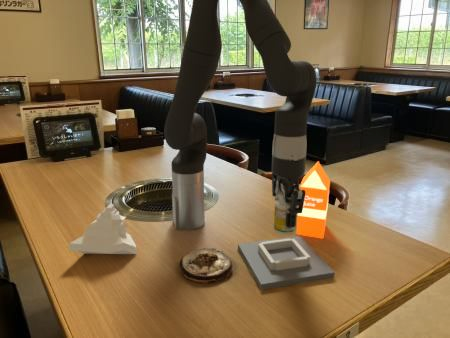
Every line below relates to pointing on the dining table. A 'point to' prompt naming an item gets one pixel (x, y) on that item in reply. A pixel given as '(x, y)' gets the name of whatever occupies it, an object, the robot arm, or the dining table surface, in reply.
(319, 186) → the orange juice
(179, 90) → the robot arm
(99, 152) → the dining table surface
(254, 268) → the socket board
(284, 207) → the supplement bottle
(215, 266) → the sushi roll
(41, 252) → the dining table surface
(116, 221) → the white jagged pyramid
